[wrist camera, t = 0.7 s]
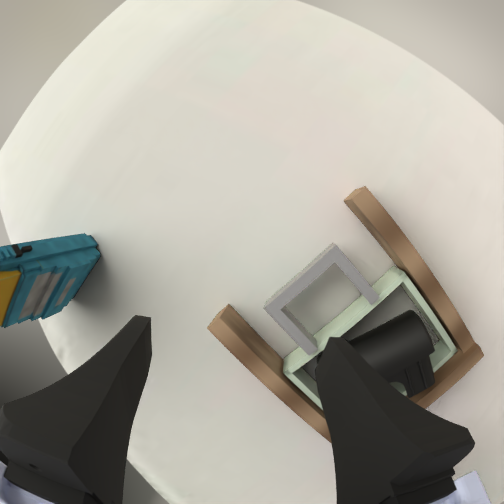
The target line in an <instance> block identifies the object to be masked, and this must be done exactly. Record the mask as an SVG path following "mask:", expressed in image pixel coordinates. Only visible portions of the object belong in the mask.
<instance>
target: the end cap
mask: <svg viewBox="0 0 504 504" xmlns="http://www.w3.org/2000/svg"><path fill="white" fill-rule="evenodd" d="M348 343H349V344H350V345H351V346H352V347H353V348H354V349H355V350H356V351H357V352H358V353H359V354H360V355H361V356H362V357H363V358H364V359H365V360H366V361H367V363H368V364H369V365H370V366H371V367H372V368H373V369H374V370H376V371H377V372H378V373H379V374H380V375H381V376H382V377H383V378H384V379H385V380H386V381H387V382H388V383H392V382H399V383H402V384H403V385H404V387H405V390H406V393H407V396H408V398H411V397H413V396H415V395H416V394H418V393H420V392H422V391H424V390H426V389H427V388H429V387H431V386H432V385H433V384H434V383H435V378H434V372H433V368H432V364H431V360H430V357H429V355H430V354H432V353H433V352H434V351H435V349H434V345H433V343H432V340H431V337H430V335H429V333H428V331H427V329H426V327H425V325H424V324H423V322H422V320H421V319H420V318H419V316H418V315H417V314H416V313H415V312H414V311H412V310H408V311H406V312H405V313H403V314H401V315H399V316H397V317H395V318H394V319H392V320H390V321H388V322H386V323H384V324H382V325H380V326H379V327H377V328H375V329H373V330H371V331H369V332H367V333H365V334H363V335H361V336H359V337H357V338H355V339H353V340H351V341H349V342H348ZM321 356H322V354H320V355H318V357H317V364H318V363H319V360H320V358H321Z"/></svg>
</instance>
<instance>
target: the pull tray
mask: <svg viewBox="0 0 504 504" xmlns="http://www.w3.org/2000/svg"><path fill="white" fill-rule="evenodd" d="M334 263H336V264H337V265H338V266H339V268H340V269H341V270H342V271H343V272H344V273H345V275H346V276H347V277H348V278H349V279H350V281H351V282H352V283H353V284H354V285H355V286H356V288H357V289H358V290H359V291H360V292H361V294H362V295H361V296H360V297H359V298H358V299H357V300H356V301H354V302H353V303H352V304H351V305H350V306H349V307H347V308H346V309H345V310H344V311H343V312H342V313H340V314H339V315H338V316H337V317H336V318H334V319H333V320H332V321H331V322H330V323H328V324H327V325H326V326H325V327H323V328H322V329H321V330H320V331H319V332H317V333H316V334H315V335H314V336H312V335H311V334H310V333H309V332H308V331H307V330H306V329H305V327H304V326H303V325H302V324H301V323H300V322H299V321H298V320H297V319H296V318H295V317H294V316H293V315H292V314H291V313H290V311H289V310H288V309H287V308H286V307H285V305H286V304H288V303H289V302H290V301H291V300H292V299H293V298H295V297H296V296H297V295H298V294H299V293H300V292H302V291H303V290H304V289H305V288H306V287H307V286H309V285H310V284H311V283H312V282H313V281H314V280H315V279H317V278H318V277H319V276H320V275H321V274H322V273H323V272H325V271H326V270H327V269H328V268H329V267H330V266H331V265H332V264H334ZM399 285H401V286H402V287H403V289H404V290H405V291H406V293H407V294H408V296H409V297H410V298H411V300H412V301H413V302H414V304H415V305H416V306H417V308H418V309H419V311H420V312H421V313H422V315H423V316H424V318H425V319H426V321H427V322H428V323H429V325H430V326H431V328H432V329H433V331H434V332H435V334H436V335H437V337H438V338H439V340H440V341H438V342H437V343H436V344H435V345H434V349H435V351H434V352H433V353H432V354H430V355H429V357H430V360H431V364H432V368H433V372H435V371H437V370H438V369H439V368H440V367H441V366H442V365H443V364H444V363H445V362H446V361H448V360H449V359H450V358H451V357H452V356H453V355H454V354H455V353H456V352H457V351H458V350H457V349H456V347H455V346H454V344H453V342H452V341H451V339H450V338H449V336H448V334H447V333H446V331H445V330H444V328H443V327H442V325H441V324H440V322H439V321H438V319H437V318H436V316H435V315H434V313H433V312H432V310H431V309H430V307H429V306H428V304H427V303H426V302H425V300H424V299H423V297H422V296H421V294H420V293H419V292H418V290H417V289H416V287H415V286H414V285H413V283H412V282H411V281H410V279H409V278H408V276H407V275H406V274H405V272H403V271H402V270H400V269H398V268H396V267H395V266H393V267H392V268H391V269H390V270H389V271H388V272H387V273H385V274H384V275H383V276H382V277H381V278H380V279H379V280H378V281H377V282H376V283H375V284H374V285H372V286H370V285H369V283H368V282H367V281H366V280H365V279H364V277H363V276H362V275H361V274H360V273H359V271H358V270H357V269H356V268H355V267H354V265H353V264H352V263H351V262H350V261H349V259H348V258H347V257H346V256H345V255H344V254H343V252H342V251H341V250H340V249H339V248H338V247H337V245H335V244H334V243H332V244H331V245H330V246H328V247H327V248H326V249H325V250H324V251H323V252H322V253H321V254H320V255H318V256H317V257H316V258H315V259H314V260H313V261H312V262H311V263H309V264H308V265H307V266H306V267H305V268H304V269H303V270H302V271H300V272H299V273H298V274H297V275H296V276H295V277H294V278H292V279H291V280H290V281H289V282H288V283H287V284H286V285H284V286H283V287H282V288H281V289H280V290H279V291H278V292H276V293H275V294H274V295H273V296H272V297H271V298H269V299H268V300H267V301H266V302H265V305H264V310H265V311H266V312H267V313H268V314H269V315H270V316H271V317H272V318H273V319H274V320H275V321H276V322H277V323H278V324H279V325H280V326H281V327H282V328H283V330H284V331H285V332H286V333H287V334H288V335H289V336H290V337H291V338H292V339H293V340H294V341H295V342H296V343H297V344H298V345H299V346H300V347H298V348H297V349H296V350H294V351H293V352H292V353H290V354H289V355H288V356H286V357H285V358H284V366H283V373H284V374H285V375H286V376H287V377H288V378H289V379H290V380H291V381H292V382H293V383H294V384H295V385H296V386H297V387H298V388H299V389H301V390H302V391H303V392H304V393H305V394H306V395H307V396H308V397H309V398H310V399H311V400H312V401H313V402H315V403H316V404H317V405H318V406H319V407H320V408H321V409H322V410H323V408H322V405H321V401H320V398H319V394H318V389H317V383H316V381H314V380H313V379H312V378H311V377H310V376H309V375H308V374H307V373H306V372H305V371H304V370H303V369H302V368H301V366H303V365H304V364H305V363H307V362H308V361H309V360H311V359H312V358H313V357H315V356H316V355H317V354H319V353H320V352H321V351H323V350H324V349H325V346H326V344H327V342H328V339H329V337H340V336H341V335H343V334H344V333H345V332H346V331H348V330H349V329H350V328H351V327H352V326H354V325H355V324H356V323H357V322H358V321H360V320H361V319H362V318H363V317H364V316H365V315H367V314H368V313H369V312H370V311H371V310H372V309H373V308H375V307H376V306H377V305H378V304H379V303H380V302H381V301H382V300H384V299H385V298H386V297H387V296H388V295H389V294H390V293H391V292H392V291H393V290H394V289H396V288H397V287H398V286H399ZM390 384H391V385H392V386H393V387H394V388H395V389H397V390H398V391H399V392H401V393H402V394H403V395H405V396H406V395H407V393H406V390H405V387H404V385H403V384H402V383H399V382H392V383H390Z"/></svg>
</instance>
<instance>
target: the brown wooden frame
mask: <svg viewBox="0 0 504 504" xmlns="http://www.w3.org/2000/svg"><path fill="white" fill-rule="evenodd" d="M344 202H345V203H346V204H347V206H348V207H349V208H350V209H351V210H352V211H353V212H354V214H355V215H356V216H357V217H358V218H359V219H360V221H361V222H362V223H363V224H364V225H365V227H366V228H367V229H368V230H369V231H370V233H371V234H372V235H373V236H374V238H375V239H376V240H377V241H378V243H379V244H380V245H381V246H382V247H383V249H384V250H385V251H386V253H387V254H388V255H389V256H390V258H391V259H392V260H393V262H394V263H395V264H396V265H397V267H398V268H399V269H400V270H402V271H403V272H405V274H406V275H407V276H408V278H409V279H410V281H411V282H412V283H413V285H414V286H415V287H416V289H417V290H418V292H419V293H420V294H421V296H422V297H423V299H424V300H425V302H426V303H427V304H428V306H429V307H430V309H431V310H432V312H433V313H434V315H435V316H436V318H437V319H438V321H439V322H440V324H441V325H442V327H443V328H444V330H445V331H446V333H447V334H448V336H449V338H450V339H451V341H452V342H453V344H454V346H455V347H456V349H457V350H458V351H457V352H456V353H455V354H454V355H453V356H452V357H451V358H450V359H449V360H448V361H446V362H445V363H444V364H443V365H442V366H441V367H440V368H439V369H438V370H437V371H435V372H434V378H435V383H434V384H433V385H432V386H431V387H429V388H427V389H426V390H424V391H422V392H420V393H418V394H416V395H415V396H413V397H411V398H409V399H410V400H411V401H413V402H414V403H416V404H418V405H419V406H421V407H422V408H424V409H425V408H427V407H428V406H429V405H431V404H432V403H433V402H434V401H435V400H437V399H438V398H439V397H440V396H441V395H443V394H444V393H445V392H446V391H447V390H448V389H450V388H451V387H452V386H453V385H454V384H455V383H456V382H457V381H458V380H460V379H461V378H462V377H463V376H464V375H465V374H466V373H467V372H468V371H469V370H470V369H471V368H472V367H473V366H474V365H475V364H476V363H477V362H478V361H479V360H480V359H481V358H482V357H483V356H484V354H483V352H482V350H481V348H480V346H479V345H477V344H476V343H475V342H474V340H473V338H472V336H471V335H470V333H469V331H468V329H467V328H466V326H465V324H464V322H463V321H462V319H461V317H460V316H459V314H458V312H457V311H456V309H455V307H454V306H453V304H452V303H451V301H450V299H449V298H448V296H447V295H446V293H445V292H444V290H443V288H442V287H441V285H440V284H439V282H438V281H437V279H436V278H435V276H434V275H433V273H432V272H431V270H430V269H429V268H428V266H427V265H426V263H425V262H424V260H423V259H422V258H421V256H420V255H419V253H418V252H417V251H416V249H415V248H414V247H413V245H412V244H411V242H410V241H409V240H408V238H407V237H406V236H405V234H404V233H403V232H402V231H401V229H400V228H399V227H398V225H397V224H396V223H395V222H394V220H393V219H392V218H391V216H390V215H389V214H388V213H387V212H386V210H385V209H384V208H383V207H382V205H381V204H380V203H379V202H378V201H377V199H376V198H375V197H374V196H373V195H372V193H371V192H370V191H369V190H368V189H367V188H366V186H364V187H361V188H359V189H356V190H354V191H353V192H352V193H351V194H350V195H349V196H348V197H347V198H346V199H345V200H344ZM207 329H208V330H209V331H210V332H211V333H212V334H213V335H214V336H215V337H216V338H217V339H218V340H219V341H220V342H221V343H222V344H223V345H224V346H225V347H226V348H227V349H228V350H229V351H230V352H231V353H232V354H233V355H234V356H235V357H236V358H237V359H238V360H239V361H240V362H241V363H242V364H243V365H244V366H245V367H246V368H247V369H248V370H249V371H250V372H251V373H252V374H254V375H255V376H256V377H257V378H258V379H259V380H260V381H261V382H262V383H263V384H264V385H265V386H266V387H267V388H268V389H269V390H271V391H272V392H273V393H274V394H275V395H276V396H277V397H278V398H279V399H280V400H282V401H283V402H284V403H285V404H286V405H287V406H288V407H289V408H291V409H292V410H293V411H294V412H295V413H296V414H297V415H298V416H300V417H301V418H302V419H303V420H304V421H305V422H307V423H308V424H309V425H310V426H311V427H312V428H314V429H315V430H316V431H317V432H318V433H320V434H321V435H322V436H323V437H324V438H326V439H327V440H328V441H329V442H331V437H330V433H329V429H328V426H327V422H326V419H325V415H324V412H323V410H322V409H321V408H320V407H319V406H318V405H317V404H316V403H315V402H313V401H312V400H311V399H310V398H309V397H308V396H307V395H306V394H305V393H304V392H303V391H302V390H301V389H299V388H298V387H297V386H296V385H295V384H294V383H293V382H292V381H291V380H290V379H289V378H288V377H287V376H286V375H285V374H284V373H283V366H284V360H283V359H282V358H281V357H280V356H279V355H278V354H277V353H276V352H275V351H274V350H273V349H272V348H271V347H270V346H269V345H268V344H267V343H266V342H265V341H264V340H263V339H262V338H261V337H260V336H259V335H258V334H257V333H256V332H255V331H254V330H253V329H252V328H251V327H250V326H249V324H248V323H247V322H246V321H245V320H244V319H243V318H242V317H241V316H240V315H239V314H238V313H237V312H236V311H235V310H234V309H233V308H232V307H231V306H230V305H229V304H228V305H227V306H226V307H225V308H224V309H222V310H221V311H220V312H219V313H218V314H217V315H216V317H215V318H214V319H213V321H212V322H211V323H210V325H209V326H208V327H207ZM406 397H407V398H408V396H407V395H406ZM331 443H332V442H331Z"/></svg>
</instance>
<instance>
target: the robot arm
mask: <svg viewBox="0 0 504 504" xmlns="http://www.w3.org/2000/svg"><path fill="white" fill-rule="evenodd" d="M151 357H152V345H151V318H150V317H144V316H138V315H135V316H134V317H133V318H132V319H131V320H130V321H129V322H128V323H127V324H126V325H125V326H124V327H123V328H122V329H121V330H120V332H119V333H118V334H117V335H116V336H115V337H114V338H112V339H111V340H110V341H109V342H108V343H107V344H106V345H105V346H104V347H103V348H102V349H101V350H100V351H98V352H97V353H96V354H95V355H94V356H93V357H91V358H90V359H89V360H88V361H87V362H85V363H84V364H83V365H81V366H80V367H79V368H77V369H76V370H74V371H73V372H72V373H70V374H69V375H67V376H65V377H64V378H62V379H61V380H59V381H57V382H55V383H54V384H52V385H50V386H49V387H46V388H44V389H42V390H40V391H38V392H36V393H33V394H31V395H29V396H26V397H23V398H20V399H17V400H14V401H12V402H9V403H6V404H4V405H3V406H2V408H1V410H0V450H1V451H2V452H3V454H4V455H5V456H6V457H7V458H8V459H9V463H8V466H6V465H4V464H3V463H2V462H0V504H122V499H123V485H124V475H125V466H126V459H127V451H128V445H129V439H130V433H131V428H132V424H133V420H134V417H135V414H136V411H137V407H138V404H139V401H140V398H141V395H142V392H143V389H144V386H145V383H146V380H147V377H148V372H149V367H150V362H151ZM315 375H316V383H317V389H318V394H319V398H320V401H321V405H322V408H323V412H324V415H325V419H326V422H327V426H328V429H329V433H330V437H331V442H332V448H333V455H334V463H335V473H336V489H337V504H491V502H490V500H489V497H488V495H487V493H486V491H485V488H484V486H483V484H482V482H481V480H480V477H479V475H478V473H477V471H476V470H474V471H472V472H470V473H468V474H466V475H464V476H462V477H460V478H458V479H456V480H455V481H453V479H452V477H451V476H453V475H454V474H455V471H454V469H453V467H454V466H455V465H456V464H457V463H459V462H460V461H461V460H462V459H463V458H464V457H465V456H467V455H468V454H469V453H470V452H471V450H472V449H473V448H474V445H475V442H474V440H473V438H472V436H471V434H470V432H469V430H468V429H467V428H465V427H462V426H460V425H457V424H455V423H452V422H449V421H447V420H445V419H443V418H441V417H439V416H437V415H435V414H433V413H431V412H429V411H427V410H426V409H424V408H422V407H421V406H419V405H418V404H416V403H414V402H413V401H411V400H410V399H409V398H407V397H406V396H405V395H403V394H402V393H401V392H399V391H398V390H397V389H395V388H394V387H393V386H392V385H391V384H390V383H388V382H387V381H386V380H385V379H384V378H383V377H382V376H381V375H380V374H379V373H378V372H377V371H376V370H374V369H373V368H372V367H371V366H370V365H369V364H368V363H367V361H366V360H365V359H364V358H363V357H362V356H361V355H360V354H359V353H358V352H357V351H356V350H355V349H354V348H353V347H352V346H351V345H350V344H349V343H348V342H347V341H346V340H345V339H344V338H343V337H329V339H328V342H327V344H326V346H325V349H324V351H323V354H322V356H321V358H320V360H319V363H318V365H317V367H316V370H315Z"/></svg>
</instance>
